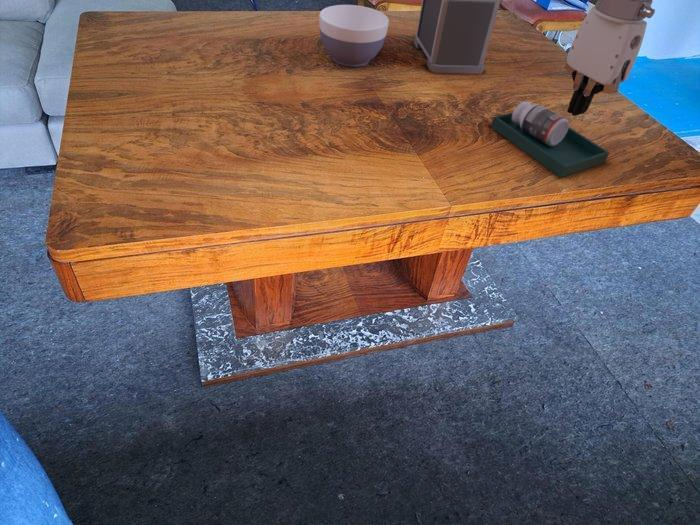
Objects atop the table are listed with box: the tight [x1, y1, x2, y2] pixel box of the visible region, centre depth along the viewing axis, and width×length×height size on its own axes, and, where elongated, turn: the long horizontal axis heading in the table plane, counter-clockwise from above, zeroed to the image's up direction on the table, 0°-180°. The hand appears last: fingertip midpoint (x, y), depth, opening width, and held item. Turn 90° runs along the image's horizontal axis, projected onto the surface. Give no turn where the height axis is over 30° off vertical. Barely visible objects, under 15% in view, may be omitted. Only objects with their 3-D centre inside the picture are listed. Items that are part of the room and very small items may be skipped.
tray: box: [490, 111, 610, 178], centre depth 100 cm, size 19×12×2 cm, turn 30°
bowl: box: [318, 4, 390, 68], centre depth 118 cm, size 16×16×10 cm
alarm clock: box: [413, 0, 502, 75], centre depth 121 cm, size 18×13×18 cm
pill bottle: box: [512, 100, 570, 146], centre depth 100 cm, size 6×6×10 cm
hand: (575, 112), depth 93 cm, fingers closed
